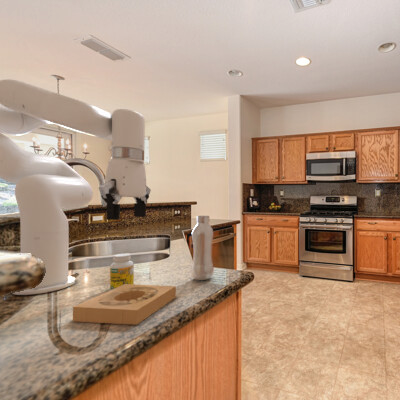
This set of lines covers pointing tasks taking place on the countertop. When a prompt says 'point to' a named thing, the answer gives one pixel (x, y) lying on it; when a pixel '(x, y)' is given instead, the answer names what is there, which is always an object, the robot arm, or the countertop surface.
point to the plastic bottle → (202, 249)
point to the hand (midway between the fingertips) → (127, 218)
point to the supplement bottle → (121, 271)
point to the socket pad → (124, 304)
